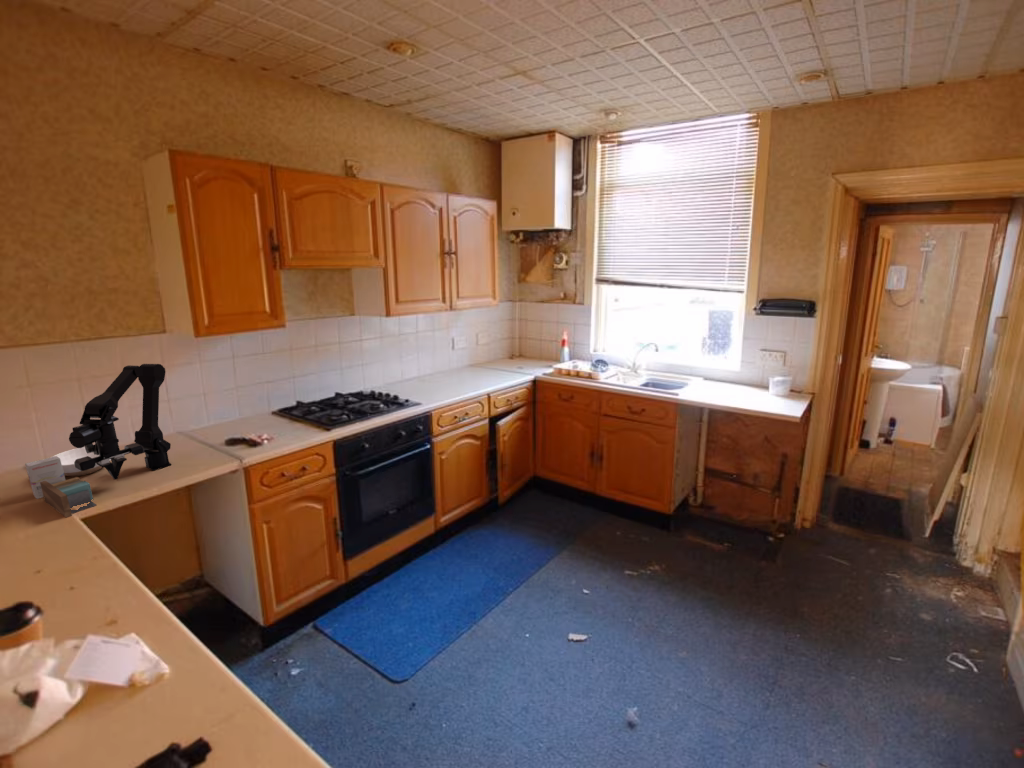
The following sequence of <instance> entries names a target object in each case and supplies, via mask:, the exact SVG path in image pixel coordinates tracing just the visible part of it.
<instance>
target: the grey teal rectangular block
mask: <svg viewBox="0 0 1024 768" xmlns="http://www.w3.org/2000/svg"><path fill="white" fill-rule="evenodd" d="M82 481H83V482H79V483H76V484H73V485H69V486H66V487H63V488H59V490H60V491H62V492H63V493H64V494H66V495H67V496H68V495H71V494H75V493H78V492H81V491H84V490H87V489H88V490H89V493H90V497H91V500H92V499H93V500H94V497H93V492H92V488H91V485H90V484H91V483H89V482H88V481H86V480H82ZM93 500H92V501H93Z"/></svg>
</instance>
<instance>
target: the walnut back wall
mask: <svg viewBox="0 0 1024 768" xmlns="http://www.w3.org/2000/svg"><path fill="white" fill-rule="evenodd" d="M40 485H41V488H42V492H43V496H44V497H43V499H44V503H46V504H47V505H48V506H50V508H51V507H52V508H53V509H54V510H56V512H58V514H60V515H62V516H63V517H65V518H69V517H72V516H73V514H71V510H70V506H69V502H68V498H67V495H66V494H64V493H63V492H62V491H60V490H59V489H57V488H56V487H54V486H53V485H51V484H50V483H48V482H47V481H43V482H40Z"/></svg>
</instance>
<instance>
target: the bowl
mask: <svg viewBox="0 0 1024 768" xmlns="http://www.w3.org/2000/svg"><path fill="white" fill-rule="evenodd" d="M54 456H57V457H59V458H60V460H61V464H62V468H63V472H64V476H65V477H66V476H67V477H80V476H85V475H89V474H93V473H95V472H98V471H100V470H101V469H102V468H103V467H101V466H99V465H97V464H96V463H95V466H94V468H91V469H88V470H85V471H81V470H79V469H77V468H75V464H74V462H75V460H76V459H80V458H83V457H87V456H89V457H91V458H95V457H98V456H99V455H96V454H95V455H94V453H93V452H91V453H87V452H86V450H85V447H82V448H76V447H75V448H73V449H69V450H65V451H62V452H60V453H57V454H55V455H52V456H51V457H54ZM109 460H110V461H111V459H109Z"/></svg>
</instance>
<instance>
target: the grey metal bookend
mask: <svg viewBox="0 0 1024 768" xmlns="http://www.w3.org/2000/svg"><path fill="white" fill-rule="evenodd" d="M67 498H68V502H69V506H70V508H72V507H73V506H77V505H81V504H84V503H88V502H90V503H89V504H87V506H83V507H80V508H79V509H78V510H71V509H70V510H71V514H72V515H73V514H75V513H78V512H81V511H84V510H87V509H90V508H93V507H96V506H97V503H94V502H93V500H92V501H91V497H90V493H89V490H88V489H87V490H84V491H81V492H78V493H75V494H71V495H68V496H67Z"/></svg>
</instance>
